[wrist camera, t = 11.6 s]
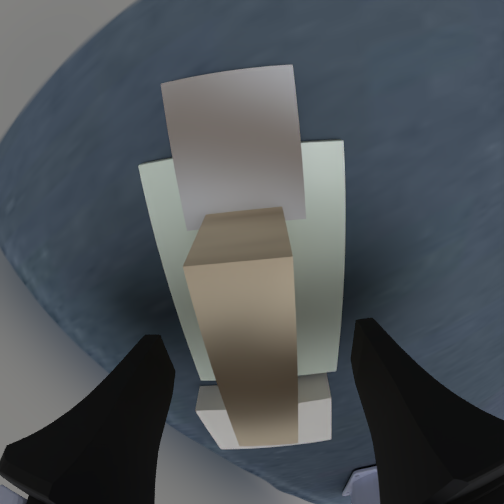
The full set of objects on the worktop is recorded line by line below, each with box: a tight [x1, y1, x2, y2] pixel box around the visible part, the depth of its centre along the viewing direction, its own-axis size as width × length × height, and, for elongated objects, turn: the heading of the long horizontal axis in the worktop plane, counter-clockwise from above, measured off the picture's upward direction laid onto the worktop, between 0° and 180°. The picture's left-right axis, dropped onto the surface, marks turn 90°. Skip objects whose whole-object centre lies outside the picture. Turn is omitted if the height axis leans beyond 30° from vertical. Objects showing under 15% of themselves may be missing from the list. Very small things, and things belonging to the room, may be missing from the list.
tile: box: [195, 372, 331, 449], centre depth 16 cm, size 5×2×7 cm
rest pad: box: [138, 140, 345, 381], centre depth 12 cm, size 11×7×1 cm, turn 7°
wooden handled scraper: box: [161, 65, 306, 446], centre depth 10 cm, size 14×4×4 cm, turn 7°
